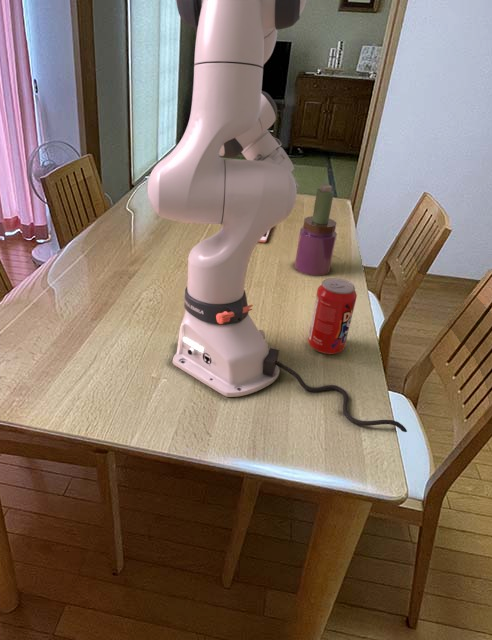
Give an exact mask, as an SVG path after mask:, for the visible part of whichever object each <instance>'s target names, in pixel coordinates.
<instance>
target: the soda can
mask: <svg viewBox="0 0 492 640" xmlns="http://www.w3.org/2000/svg"><path fill="white" fill-rule="evenodd" d="M357 296H358V295H357V292H356V286H355V284H354V283H352V282H351V281H349V280H346V279H344V278H338V277H329V278H326V279H323V280H322V283H321V285H319V286H318V287H317V290H316V295H315V301H314V305H313V311H312V317H311V322H310V327H309V333H308V338H307V343H308V344H309V347H311V348H312V349H313V350H315V351H317V352H319V353H322V354H326V355H334V354H339V353H341V352H342V351H344V350H345V347H346V344H347V340H348V335H349V330H350V326H351V323H352V318H353V314H354V310H355V306H356V301H357V298H358V297H357Z"/></svg>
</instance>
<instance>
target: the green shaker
mask: <svg viewBox="0 0 492 640" xmlns="http://www.w3.org/2000/svg"><path fill="white" fill-rule="evenodd" d="M334 193H335V191H334V190H333V186H332V185H330V184H320V186H319V188H317V189H316V194H315V200H314V206H313V212H312V216H313V217H312V221H313V222H314V223H317V224H327V223H328V221H329V218H330V215H331V210H332V204H333V200H334Z"/></svg>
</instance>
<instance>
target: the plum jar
mask: <svg viewBox="0 0 492 640" xmlns="http://www.w3.org/2000/svg"><path fill="white" fill-rule="evenodd" d="M312 217H313V215H312V216H306V217H305V218H304V219H303V224H302V227H301V228H300V229H299V236H298V243H297V249H296V254H295V260H294V268H295V270H296V271H298V272H300V273H301V274H304V275H308V276H325V275H327V274H328V273H330V271H331V266H332V260H333V255H334V250H335V245H336V240H337V235H338V234H337V232H336V229H337V221H336V220H334V219H332V218H330V217H329V221H328V223H327V224H317V223H314V222H313V221H312Z"/></svg>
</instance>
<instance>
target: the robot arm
mask: <svg viewBox="0 0 492 640" xmlns="http://www.w3.org/2000/svg"><path fill="white" fill-rule="evenodd" d="M175 4H176V8H177V12H178V15H179V17H180V19H182V20H183V22H184V23H185V24H186V25H187V26H190V27H192V28H193V31H195V32H196V37H195V38H196V39H195V45H194V47H195V48H194V61H193V62H194V64H193V85H192V98H191V108H190V114H189V120H188V123H187V126H186V128H185V131H184V133H183V135H182V136H181V139H180V140H179V142H178V144H176V146H175V148H173V149H172V151H171V152H170V153H169V154H168V155H167V156H165V157H164V158H163V159H161V160H160V161H159V162H158V163H157V164H156V165H155V166H154V168H153V169H152V170H151V172H150V175H149V177H148V180H147V186H146V187H147V188H146V189H147V190H146V192H147V198H148V202H149V204H150V206H151V208H152V210H153V211H154V212H155V214H156V215H157V216H158V217H159V218H163V219H166V220H170V221H175V222H180V223H183V224H207V225H208V224H211V225H222V227H221V229H219V231H217V232H216V233H214V234H213V235H211V236H208V237H207V238H204V239H203V240H201V241H199V242H198V243H197V244H196V245H194V246H193V248H191V250H190V252H189V254H188V258H187V281H186V282H187V284H186V287H185V289H184V295H183V301H184V302H183V303H184V305H183V306H184V309H185V312H184V314H183V318H182V321H181V324H180V326H179V333H178V340H177V341H178V342H177V347H176V352H175V354H174V356H173V358H172V365H173V366H175V367H176V368H178V369H180V370H181V371H183V372H185V373H186V374H188V375H190V377H193V378H195V379H196V380H198V381H199V382H200V383H202V384H204V385H205V386H207V387H209V388H211V389H213V390H214V391H215V392H217V393H219V394H220V395H222V396H224V397H227V398H234V397H235V398H237V397H244V396H247V395H250V394H253V393H256V392H258V391H261V390H263V389H265V388H267V387H268V386H270V385H271V384H273V383H274V382H275V381H276V380H277V379H278V378H279V376H280V369H282V370H283V371H286V372H287V373H289V374H290V375H292V376H293V377H294V378H295V379H296V380H297V382H298V383H299V385H300V386H301V387H302V388H303V389H304V390H306V391H309V392H312V393H319V392H324V391H328V390H335V391H337V392H339V393H341V395H342V397H343V400H342V413H343V415H344V417H345V419H347V420H348V421H350V422H351V423H353V424H355V425H358V426H366V427H367V426H368V427H369V426H371V427H372V426H380V425H381V426H382V425H391V426H394V427H396V428H397V429H399V430H400V431H401V432H403V433H407V432H408V430H407V428H406V427H405V426H404V425H403V424H402V423H400V422H399V421H396V420H394V419H376V420H362V419H361V420H360V419H357V418H354V417H352V415H351V414H350V413H349V411H348V404H349V403H348V402H349V397H348V396H349V395H348V393H347V391H345V389H343V388H342V387H340V386H339V385H335V384H328V385H323V386H318V387H313V386H312V387H311V386H309V385H308V384H306V382H305V381H304V379H303V378H302V377H301V376H300V375H299V373H297V372H296V371H295V370H293V369H292V368H291V367H289V366H287V365H285V364H283V362H280V361H278V360H279V354H280V349H279V348H278V349H277V348H273V347H270V348H269V345H268V343H267V341H266V335H265V332H264V330H262V329H259V328H258V327H257V325H256V323H255V322H254V320H253V319H252V318H251V316H250V313H249V312H251V311H252V310H253V308H252V307H253V306H254V304H249V305H248V297H247V293H246V291H245V285H246V279H247V278H246V277H247V271H248V267H249V261H250V258H251V255H252V254H253V251H254V249H255V247H256V246H257V245H258V243H260V242H259V240H260V239H261V238H262V237H263V236H264V235H265V234H266V233H267V232H268V231H269V230H270V231H271V230H272V229H273V228H274V227H275V226H277V225H279V224H280V223H282V222H284V221H285V220H286V219H287V218H288V217H289V216H290V215H291V213H292V211H293V209H294V207H295V205H296V201H297V192H298V191H297V190H298V189H299V187H300V186H299V184H298V182H297V181H296V178H295V176H294V173H292V172H293V171H294V170H295V166H294V164H293V162H292V160H291V158H290V157H289V155H288V154H287V152H286V150H284V148H283V147H281V146H282V142H281V141H280V139H278V138H277V137H274V136H273V135H272V133H270V131H269V129H270V128H271V127H272V126H273V125H274V123H275V122H276V120H277V118H278V117H277V116H278V106H277V104H276V102H275V100H274V99H273V98H272V96H271V95H270V94H269V93H268V92H266V91H264V90H262V89H263V76H264V65H265V64H266V63H267V62H268V60H270V58H271V56H272V54H273V52H274V49H275V47H276V43H277V39H278V32H279V31H278V30H284V29H287V28H291V27H293V26H294V25H295V24H296V23H297V22H298V21H299V20H300V18H301V15H302V13H303V11H304V8H305V7H306V4H307V0H175ZM240 154H242V156H243V157H244V158H245V159H236V158H237V157H238V156H240Z"/></svg>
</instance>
